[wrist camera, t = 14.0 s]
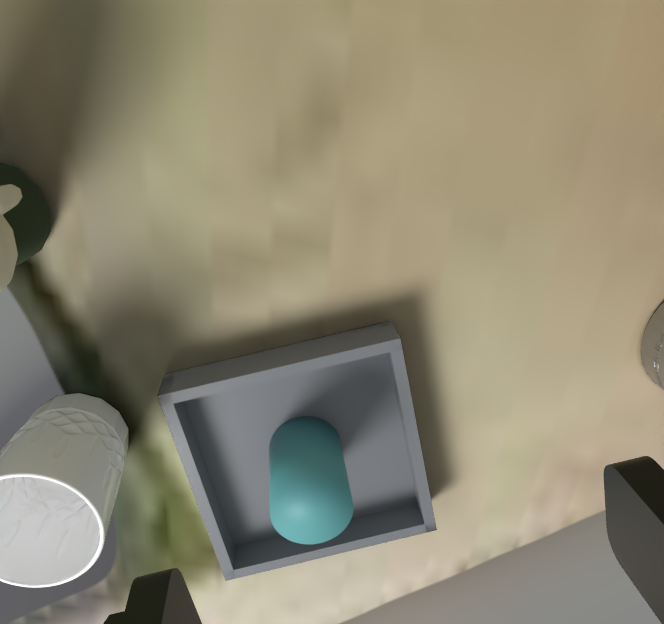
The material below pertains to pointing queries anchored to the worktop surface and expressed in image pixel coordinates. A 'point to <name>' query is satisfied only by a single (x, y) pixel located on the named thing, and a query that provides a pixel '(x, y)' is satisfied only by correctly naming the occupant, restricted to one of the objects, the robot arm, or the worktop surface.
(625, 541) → the robot arm
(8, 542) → the white cup
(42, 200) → the character mug
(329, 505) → the teal capsule
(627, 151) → the worktop surface
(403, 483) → the tray
